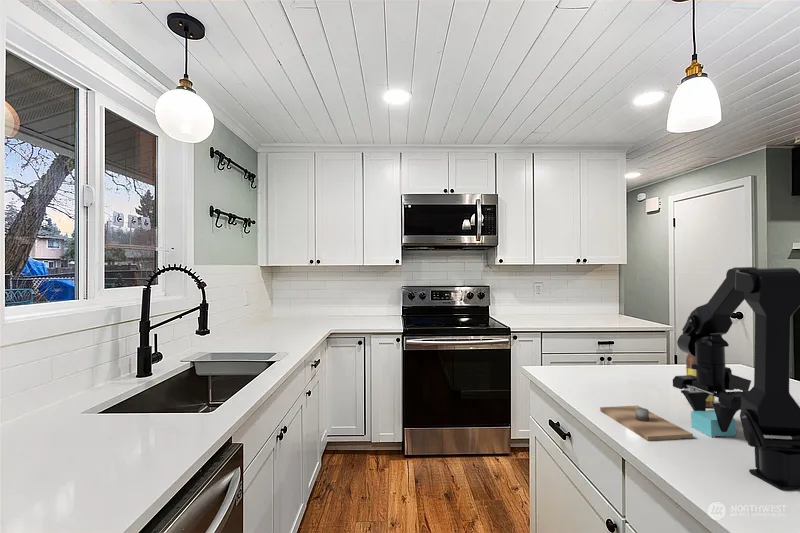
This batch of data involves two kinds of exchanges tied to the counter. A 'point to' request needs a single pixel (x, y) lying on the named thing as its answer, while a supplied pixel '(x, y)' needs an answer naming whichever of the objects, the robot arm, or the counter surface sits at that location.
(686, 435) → the post base
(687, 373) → the sauce bottle
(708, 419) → the teal block
